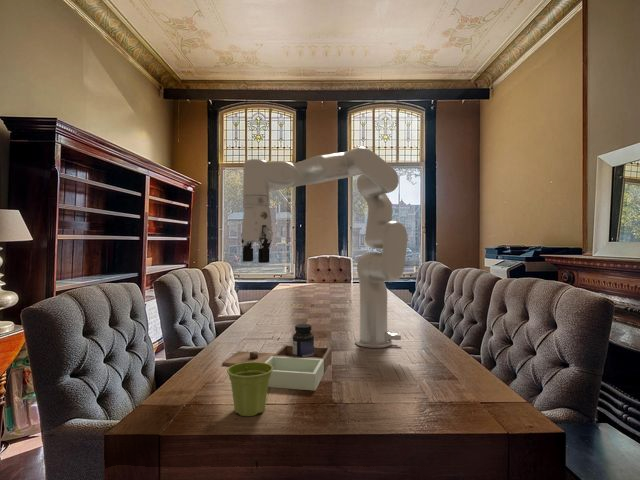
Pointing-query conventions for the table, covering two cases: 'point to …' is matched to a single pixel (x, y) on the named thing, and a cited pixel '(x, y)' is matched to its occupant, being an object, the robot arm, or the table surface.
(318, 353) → the walnut box
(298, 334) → the pill bottle
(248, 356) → the walnut lid
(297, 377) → the sage box
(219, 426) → the table surface
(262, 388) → the plant pot
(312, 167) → the robot arm
